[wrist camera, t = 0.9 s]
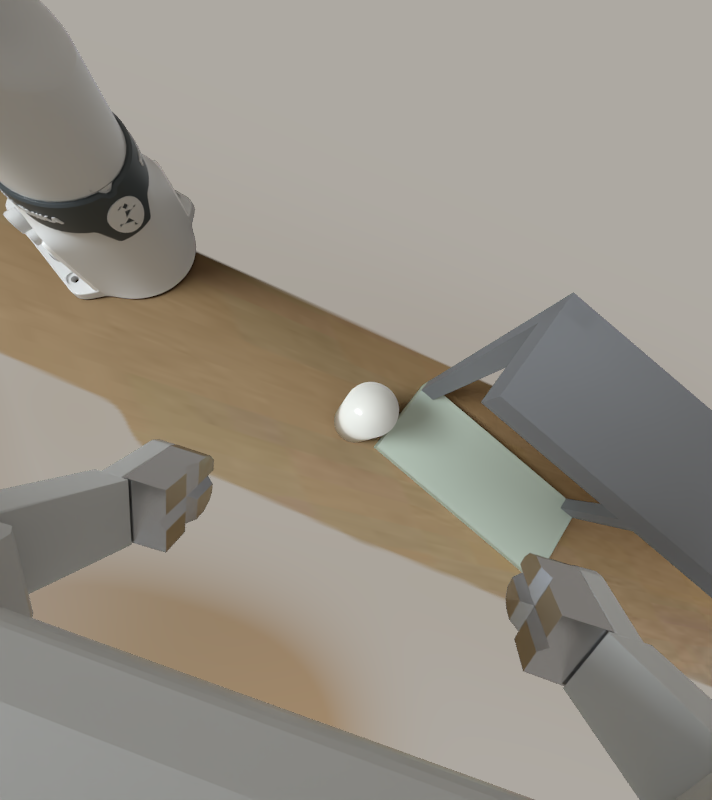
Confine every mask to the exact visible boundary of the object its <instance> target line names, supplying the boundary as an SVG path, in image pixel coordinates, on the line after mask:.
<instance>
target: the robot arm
mask: <svg viewBox="0 0 712 800" xmlns="http://www.w3.org/2000/svg"><path fill="white" fill-rule="evenodd" d="M0 190H1V192H2V193H3V194H4V195H5V196H6V197H7V198H8V199H7V202H6V208H7V211H5V212H4V214H3V215H4V216H5V217H6V218H7V219H8V221H9V222H10V223H11V224H12V225H14V226H15V227H16V228H17V229H18V230H19V231H20V232H22V233H23V234H24V233H25V234H26V235H27V236H28V237H29V239H30V240H31V241H32V242H33V243H34V245H35V246H36V247H37V249H38V250H39V251H40V252H41V254H42V255H43V256H44V258H45V259H46V260H47V261H48V263H49V264H50V265H51V267H52V268H53V269H54V270H55V272H56V273H57V274H58V276H59V277H60V278H61V279H62V281H63V282H64V283H65V285H66V286H67V287H68V288H69V290H70V291H71V292H72V293H73V294H74V295H75V296H76V297H78V298H80V299H92V298H98V297H103V296H114V297H121V298H129V299H139V298H147V297H152V296H155V295H158V294H161V293H163V292H165V291H167V290H169V289H171V288H172V287H174V286H175V285H177V284H178V283H179V282H180V281H181V280H182V279H183V278H184V277H185V276H186V274H187V273H188V272H189V270H190V268H191V266H192V264H193V261H194V258H195V253H196V243H195V237H194V233H193V229H192V221H193V217H194V210H195V209H194V205H193V204H192V202H191V200H190V199H189V198H188V197H186V196H184V195H183V194H181V193H179V192H178V191H176V190H174V189H173V187H172V185H171V184H170V182H169V180H168V178H167V177H166V175H165V173H164V172H163V170H162V168H161V167H160V165H159V164H158V163H157V162H156V161H155V160H151V159H150V158H148V157H147V156H145V155H143V154H141V152H140V150H139V148H138V146H137V144H136V142H135V141H134V139H133V137H132V136H131V134H130V133H129V132H128V131H127V129H126V127H125V126H124V124H123V123H122V122H121V120H120V119H119V118H118V117H117V116H116V115H115V114H114V113H113V112H112V111H111V110H110V108H109V106H108V104H107V103H106V100H105V99H104V97H103V95H102V93H101V91H100V90H99V88H98V86H97V84H96V82H95V81H94V79H93V77H92V75H91V74H90V72H89V70H88V68H87V66H86V65H85V63H84V61H83V59H82V57H81V56H80V54H79V52H78V50H77V49H76V47H75V45H74V43H73V41H72V39H71V38H70V36H69V34H68V33H67V31H66V30H65V28H64V27H63V26H62V24H61V23H60V22H59V21H58V19H57V18H56V17H55V16H54V15H53V14H52V13H51V11H50V10H49V9H48V8H47V7H46V6H45V5H44V4H43V3H42V2H41V1H40V0H0ZM77 279H79V281H78V282H76V283H75V281H76V280H77ZM213 469H214V459H213V458H212V457H211V456H210V455H207V454H204V453H201V452H198V451H195V450H192V449H189V448H185V447H182V446H179V445H175V444H173V443H169V442H166V441H163V440H160V439H156V440H152V441H150V442H148V443H147V444H145V445H143V446H142V447H140V448H138V449H137V450H135V451H133V452H132V453H130V454H129V455H127V456H125V457H124V458H122V459H120V460H119V461H117V462H115V463H114V464H112V465H111V466H109V467H107V468H106V469H104V470H102V471H99V470H90V471H85V472H80V473H76V474H71V475H66V476H62V477H57V478H52V479H48V480H43V481H38V482H34V483H29V484H24V485H20V486H15V487H10V488H6V489H1V490H0V800H534V799H531V798H528V797H526V796H523V795H520V794H517V793H514V792H512V791H509V790H506V789H504V788H501V787H498V786H495V785H493V784H490V783H487V782H484V781H481V780H479V779H476V778H473V777H470V776H468V775H465V774H462V773H459V772H457V771H454V770H451V769H448V768H446V767H443V766H440V765H437V764H435V763H432V762H429V761H426V760H424V759H421V758H418V757H415V756H412V755H410V754H407V753H404V752H401V751H399V750H396V749H393V748H390V747H388V746H385V745H382V744H379V743H376V742H374V741H371V740H368V739H366V738H362V737H360V736H357V735H354V734H352V733H349V732H346V731H343V730H341V729H338V728H335V727H332V726H330V725H327V724H324V723H321V722H319V721H315V720H313V719H310V718H307V717H304V716H302V715H299V714H296V713H294V712H291V711H288V710H285V709H282V708H280V707H277V706H274V705H271V704H269V703H266V702H263V701H260V700H258V699H255V698H252V697H249V696H246V695H243V694H241V693H238V692H235V691H233V690H229V689H227V688H224V687H221V686H219V685H216V684H213V683H210V682H208V681H205V680H202V679H199V678H197V677H194V676H191V675H188V674H185V673H183V672H180V671H177V670H174V669H172V668H169V667H166V666H163V665H160V664H158V663H155V662H152V661H150V660H147V659H144V658H141V657H138V656H136V655H133V654H130V653H127V652H125V651H122V650H119V649H116V648H113V647H111V646H108V645H105V644H102V643H99V642H97V641H94V640H91V639H88V638H86V637H83V636H80V635H78V634H75V633H72V632H69V631H67V630H64V629H61V628H58V627H55V626H52V625H50V624H47V623H44V622H42V621H39V620H36V619H33V618H32V617H33V610H32V606H31V602H30V598H29V594H30V593H32V592H34V591H36V590H38V589H40V588H42V587H44V586H47V585H49V584H51V583H53V582H55V581H57V580H59V579H61V578H63V577H65V576H67V575H69V574H71V573H74V572H76V571H78V570H80V569H82V568H84V567H86V566H88V565H90V564H92V563H94V562H96V561H98V560H101V559H102V558H105V557H107V556H109V555H111V554H113V553H115V552H117V551H119V550H121V549H123V548H125V547H127V546H129V545H131V544H132V543H136V544H139V545H142V546H146V547H149V548H152V549H156V550H159V551H163V552H167V551H168V550H169V549H170V548H171V546H172V545H173V544H174V543H175V542H176V541H177V540H178V539H179V538H180V536H182V534H183V533H184V532H185V523H188V522H190V521H193V520H195V519H197V518H198V517H199V515H201V513H202V512H203V511H204V509H205V508H206V506H207V504H208V502H209V500H210V496H211V493H212V485H213V484H212V482H211V481H210V479H209V477H208V475H209V474H210V473H211V472H212V471H213ZM520 565H521V568H522V571H523V573H520V574H518V575H516V576H514V577H512V579H511V581H510V583H509V585H508V587H507V593H506V609H507V613H508V617H509V620H510V621H511V622H512V624H513V625H514V626H515V628H516V629H517V630H518V633H517V635H516V637H515V639H514V640H515V643H516V647H517V651H518V654H519V658H520V662H521V665H522V669H523V671H524V672H527V673H529V674H532V675H535V676H538V677H541V678H543V679H546V680H549V681H551V682H554V683H557V684H560V685H563V686H564V690H565V691H566V693H567V694H568V696H569V697H570V699H571V700H572V702H573V703H574V705H575V706H576V707H577V709H578V710H579V712H580V713H581V715H582V716H583V718H584V719H585V721H586V722H587V723H588V725H589V726H590V728H591V729H592V731H593V732H594V734H595V735H596V737H597V738H598V740H599V741H600V742H601V744H602V745H603V747H604V748H605V750H606V751H607V753H608V754H609V756H610V757H611V759H612V760H613V762H614V763H615V764H616V766H617V767H618V769H619V770H620V772H621V773H622V775H623V776H624V778H625V779H626V780H627V782H628V783H629V785H630V786H631V788H632V789H633V791H634V792H635V793H636V795H637V797H638V798H639V799H640V800H712V699H710V697H708V696H707V695H706V694H705V693H704V692H703V691H702V690H701V689H699V688H698V687H697V686H696V685H695V684H694V683H693V682H692V681H691V680H690V679H688V678H687V677H686V676H685V675H684V674H683V673H682V672H681V671H680V670H678V669H677V668H676V667H675V666H674V665H673V664H672V663H671V662H670V661H668V660H667V659H666V658H665V657H664V656H663V655H662V654H661V653H660V652H658V651H657V650H656V649H655V648H654V647H653V646H652V645H649V644H646V643H643V641H642V639H641V638H640V636H639V635H638V633H637V631H636V630H635V628H634V626H633V625H632V623H631V622H630V620H629V618H628V617H627V615H626V614H625V612H624V610H623V609H622V607H621V606H620V604H619V602H618V601H617V599H616V598H615V596H614V594H613V593H612V591H611V590H610V588H609V586H608V585H607V583H606V582H605V580H604V578H603V577H602V576H601V575H600V574H598V573H597V572H596V571H593V570H589V569H586V568H582V567H578V566H575V565H569V564H566V563H562V562H559V561H556V560H552V559H549V558H546V557H542V556H539V555H536V554H532V553H529V554H528V555H526V556H525V557H524V558H523V560H522V562H521V563H520Z"/></svg>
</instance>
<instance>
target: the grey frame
mask: <svg viewBox="0 0 712 800" xmlns="http://www.w3.org/2000/svg"><path fill="white" fill-rule="evenodd" d="M503 368H505V370H504V371H503V373H502V374H501V375H500V377H499V378H498V379H497V381H496V382H495V384H494V385H493V386H492V388H491V389H490V390H489V392H488V393H487V395H486V396H485V397H484V399H483V400H482V402H481V403H482V404H484V405H485V406H486V407H487V408H488V409H489V410H491V411H492V412H493V413H494V414H495V415H497V416H498V417H499V418H500V419H501V420H502V421H504V422H505V423H506V424H507V425H508V426H510V427H511V428H512V429H513V430H514V431H515V432H517V433H518V434H519V435H520V436H521V437H523V438H524V439H525V440H526V441H527V442H528V443H530V444H531V445H532V446H533V447H534V448H536V449H537V450H538V451H539V452H540V453H541V454H543V455H544V456H545V457H546V458H547V459H549V460H550V461H551V462H552V463H553V464H554V465H556V466H557V467H558V468H559V469H560V470H561V471H563V472H564V473H565V474H566V475H567V476H569V477H570V478H571V479H572V480H573V481H574V482H576V483H577V484H578V485H579V486H580V487H582V488H583V489H584V490H585V491H586V492H587V493H589V494H590V495H591V496H592V497H593V498H595V499H596V500H597V501H598V502H599V503H600V504H598V503H591V502H585V501H578V500H572V499H566V498H565V497H563V496H562V495H561V494H560V493H559V492H558V491H556V490H555V489H554V488H553V487H552V486H550V485H549V484H548V483H547V482H546V481H545V480H543V479H542V478H541V477H540V476H539V475H537V474H536V473H535V472H534V471H533V470H532V469H530V468H529V467H528V466H527V465H526V464H524V463H523V462H522V461H521V460H520V459H519V458H517V457H516V456H515V455H514V454H513V453H511V452H510V451H509V450H508V449H507V448H506V447H504V446H503V445H502V444H501V443H500V442H498V441H497V440H496V439H495V438H494V437H493V436H491V435H490V434H489V433H488V432H487V431H485V430H484V429H483V428H482V427H481V426H480V425H478V424H477V423H476V422H475V421H474V420H472V419H471V418H470V417H469V416H468V415H467V414H465V413H464V412H463V411H462V410H461V409H459V408H458V407H457V406H456V405H455V404H454V403H452V402H451V401H450V400H449V399H448V398H446V397H445V396H444V395H445V394H448V393H450V392H452V391H454V390H456V389H459V388H461V387H463V386H465V385H468V384H470V383H472V382H474V381H477V380H479V379H481V378H483V377H485V376H488V375H490V374H492V373H494V372H497V371H499V370H501V369H503ZM374 448H375V449H377V450H378V451H379V452H380V453H381V454H383V455H384V456H385V457H386V458H387V459H388V460H390V461H391V462H392V463H393V464H394V465H396V466H397V467H398V468H399V469H400V470H401V471H403V472H404V473H405V474H406V475H407V476H409V477H410V478H411V479H412V480H413V481H415V482H416V483H417V484H418V485H419V486H420V487H422V488H423V489H424V490H425V491H426V492H428V493H429V494H430V495H431V496H432V497H434V498H435V499H436V500H437V501H438V502H439V503H441V504H442V505H443V506H444V507H445V508H447V509H448V510H449V511H450V512H451V513H452V514H454V515H455V516H456V517H457V518H458V519H460V520H461V521H462V522H463V523H464V524H466V525H467V526H468V527H469V528H470V529H471V530H473V531H474V532H475V533H476V534H477V535H479V536H480V537H481V538H482V539H483V540H485V541H486V542H487V543H488V544H489V545H490V546H492V547H493V548H494V549H495V550H496V551H498V552H499V553H500V554H501V555H502V556H503V557H505V558H506V559H507V560H508V561H509V562H511V563H512V564H513V565H514V566H515V567H517V568H518V569H519V570H520V571H521V572H522V573H523V571H522V568H521V565H520V563H521V562H522V560H523V558H524V557H525V556H526V555H528V554H529V553H532V554H536V555H539V556H542V557H546V558H549V557H550V555H551V554H552V552H553V550H554V548H555V547H556V545H557V543H558V541H559V540H560V538H561V536H562V534H563V533H564V531H565V529H566V527H567V526H568V524H569V522H570V520H571V519H572V518H576V519H580V520H585V521H589V522H594V523H598V524H603V525H607V526H612V527H616V528H621V529H625V530H630V531H634V532H635V533H636V534H637V535H638V536H639V537H641V538H642V539H643V540H644V541H645V542H646V543H648V544H649V545H650V546H651V547H652V548H654V549H655V550H656V551H657V552H658V553H659V554H661V555H662V556H663V557H664V558H665V559H667V560H668V561H669V562H670V563H671V564H672V565H674V566H675V567H676V568H677V569H678V570H680V571H681V572H682V573H683V574H684V575H685V576H687V577H688V578H689V579H690V580H691V581H693V582H694V583H695V584H696V585H697V586H698V587H700V588H701V589H702V590H703V591H704V592H706V593H707V594H708V595H709V596H710V597H711V598H712V410H711V409H709V408H708V407H707V406H706V405H705V404H704V403H702V402H701V401H700V400H699V399H698V398H696V397H695V396H694V395H693V394H692V393H691V392H690V391H688V390H687V389H686V388H685V387H684V386H682V385H681V384H680V383H679V382H678V381H677V380H675V379H674V378H673V377H672V376H671V375H670V374H668V373H667V372H666V371H665V370H664V369H663V368H661V367H660V366H659V365H658V364H657V363H656V362H654V361H653V360H652V359H651V358H650V357H648V356H647V355H646V354H645V353H644V352H643V351H641V350H640V349H639V348H638V347H637V346H636V345H634V344H633V343H632V342H631V341H630V340H629V339H627V338H626V337H625V336H624V335H623V334H622V333H620V332H619V331H618V330H617V329H616V328H614V327H613V326H612V325H611V324H610V323H609V322H607V321H606V320H605V319H604V318H603V317H602V316H600V315H599V314H598V313H597V312H596V311H595V310H593V309H592V308H591V307H590V306H589V305H588V304H586V303H585V302H584V301H583V300H582V299H580V298H579V297H578V296H577V295H576V294H575V293H572V294H570V295H569V296H567V297H565V298H564V299H562V300H560V301H559V302H557V303H556V304H554V305H553V306H551V307H549V308H547V309H546V310H544V311H543V312H541V313H539V314H538V315H536V316H534V317H533V318H531V319H530V320H528V321H526V322H525V323H523V324H521V325H520V326H518V327H516V328H515V329H513V330H512V331H510V332H508V333H507V334H505V335H503V336H502V337H500V338H499V339H497V340H495V341H494V342H492V343H490V344H489V345H487V346H485V347H484V348H482V349H481V350H479V351H477V352H476V353H474V354H472V355H471V356H469V357H468V358H466V359H464V360H463V361H461V362H459V363H458V364H456V365H455V366H453V367H451V368H450V369H448V370H446V371H445V372H443V373H441V374H440V375H438V376H437V377H435V378H433V379H432V380H430V381H428V382H427V383H425V384H424V385H422V386H421V388H420V389H419V390H418V392H417V393H416V394H415V395H414V397H413V398H412V399H411V400H410V402H409V403H408V404H407V406H406V407H405V408H404V409H403V411H402V412H401V413H400V414H399V416H398V420H397V422H396V424H395V426H394V427H393V428H392V429H391V430H390V431H389V432H388V433H386V434H385V435H383V436H382V437H381V438H380V440H379V441H378V442H377V444H376V445H375V446H374Z"/></svg>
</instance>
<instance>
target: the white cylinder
mask: <svg viewBox="0 0 712 800" xmlns="http://www.w3.org/2000/svg"><path fill="white" fill-rule="evenodd" d="M398 416H399V405H398V401H397V399H396V397H395V395H394V394H393V392H392V391H391V390H390V389H389V388H387V387H386V386H384V385H382V384H380V383H376V382H366V383H362V384H360V385H358V386H356V387H355V388H353V389H352V390H351V391H350V393H349V394H348V396H347V397H346V398H345V400H344V401H343V403H342V404H341V406H340V407H339V408H338V410H337V412H336V414H335V417H334V426H335V429H336V431H337V433H338V434H339V436H340V437H341V438H343V439H344V440H346V441H348V442H353V443H357V442H362V441H365V440H369V439H372V438H376V437H379V436H382V435H385V434H386V433H388V432H389V431H390V430H391V429H392V428H393V427H394V426H395V424H396V422H397V420H398Z"/></svg>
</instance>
